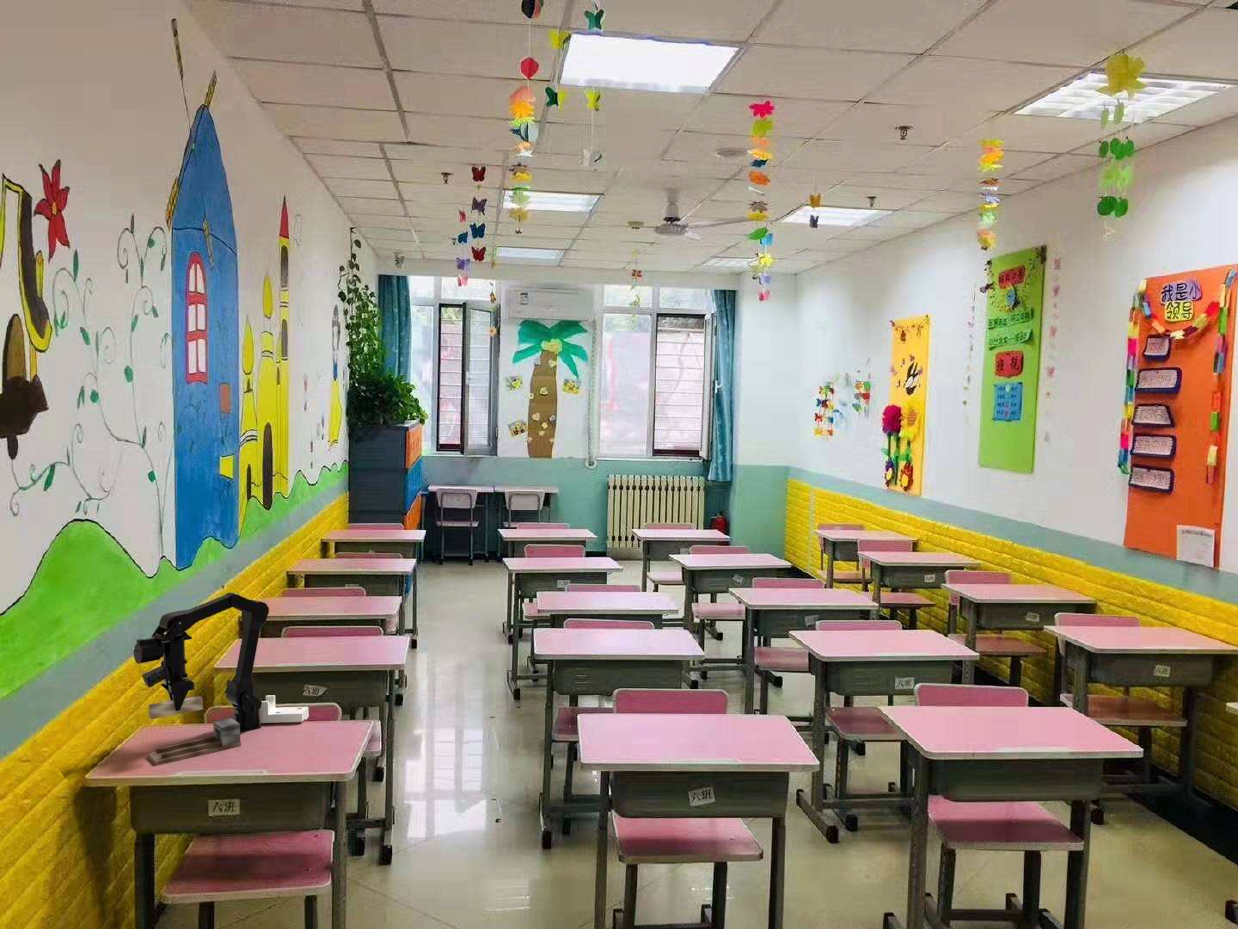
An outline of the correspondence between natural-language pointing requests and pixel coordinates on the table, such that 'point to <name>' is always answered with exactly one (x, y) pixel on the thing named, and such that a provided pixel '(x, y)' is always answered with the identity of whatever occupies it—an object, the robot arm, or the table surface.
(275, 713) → the bracket
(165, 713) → the grey beige long block
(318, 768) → the table surface
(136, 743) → the table surface
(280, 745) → the table surface
